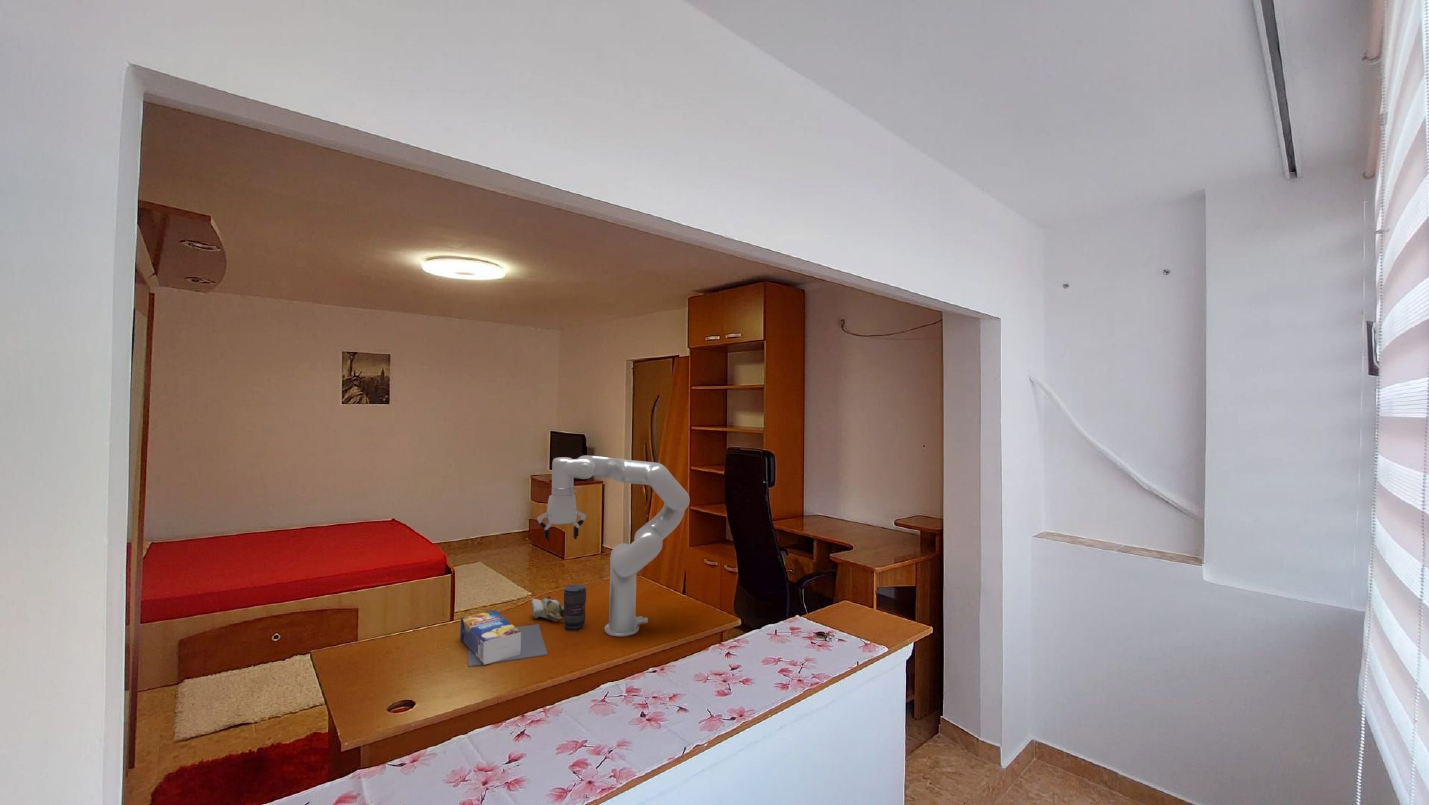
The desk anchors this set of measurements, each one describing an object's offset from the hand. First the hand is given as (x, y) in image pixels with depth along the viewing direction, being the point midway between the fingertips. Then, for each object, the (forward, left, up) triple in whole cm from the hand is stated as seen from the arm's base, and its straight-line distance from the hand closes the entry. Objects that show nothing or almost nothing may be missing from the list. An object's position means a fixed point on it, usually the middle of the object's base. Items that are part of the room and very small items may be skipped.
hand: (561, 539), depth 203 cm
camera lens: (-6, -4, -34) cm, 35 cm away
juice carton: (+20, +15, -30) cm, 39 cm away
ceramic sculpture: (+1, -16, -35) cm, 38 cm away
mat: (+18, +2, -34) cm, 39 cm away
